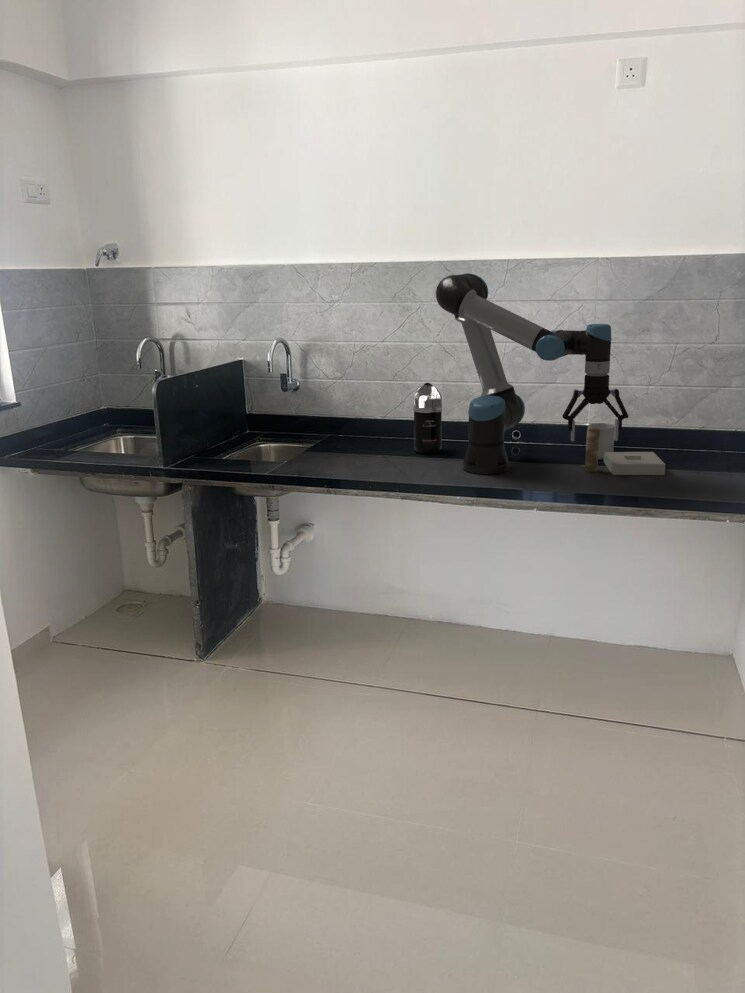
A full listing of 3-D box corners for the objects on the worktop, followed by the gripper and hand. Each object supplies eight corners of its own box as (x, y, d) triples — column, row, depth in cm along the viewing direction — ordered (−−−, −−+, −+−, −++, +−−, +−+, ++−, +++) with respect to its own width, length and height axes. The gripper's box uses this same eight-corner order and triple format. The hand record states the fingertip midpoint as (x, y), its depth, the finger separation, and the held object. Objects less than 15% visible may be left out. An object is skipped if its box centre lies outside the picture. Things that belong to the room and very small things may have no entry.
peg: (585, 472, 253) (588, 429, 249) (583, 468, 257) (586, 427, 253) (598, 472, 253) (601, 429, 249) (596, 468, 257) (598, 427, 252)
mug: (613, 461, 266) (615, 428, 262) (586, 459, 268) (588, 428, 265) (612, 452, 277) (614, 421, 273) (586, 451, 279) (588, 420, 276)
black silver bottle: (411, 448, 289) (411, 381, 282) (439, 447, 290) (439, 379, 283) (416, 455, 280) (415, 385, 272) (444, 453, 281) (444, 384, 273)
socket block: (612, 474, 250) (613, 464, 248) (603, 461, 265) (604, 451, 264) (664, 475, 248) (665, 464, 247) (652, 462, 263) (653, 451, 262)
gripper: (558, 376, 243) (556, 443, 249) (640, 375, 241) (636, 442, 247) (555, 373, 250) (553, 438, 257) (635, 371, 248) (631, 437, 254)
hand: (594, 440), depth 252 cm, fingers open, 13 cm apart
